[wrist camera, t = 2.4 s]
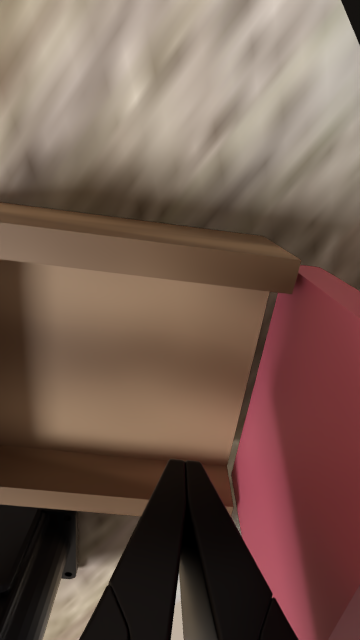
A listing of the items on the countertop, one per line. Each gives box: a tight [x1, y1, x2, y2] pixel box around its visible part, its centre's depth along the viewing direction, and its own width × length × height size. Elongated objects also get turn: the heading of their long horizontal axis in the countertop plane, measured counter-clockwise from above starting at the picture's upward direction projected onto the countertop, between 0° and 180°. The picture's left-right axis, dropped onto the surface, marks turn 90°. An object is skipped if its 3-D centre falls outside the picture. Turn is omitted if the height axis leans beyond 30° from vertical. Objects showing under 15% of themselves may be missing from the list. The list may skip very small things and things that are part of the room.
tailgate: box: [231, 265, 360, 640], centre depth 9 cm, size 10×2×8 cm, turn 173°
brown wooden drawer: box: [0, 202, 301, 516], centre depth 12 cm, size 11×12×6 cm
